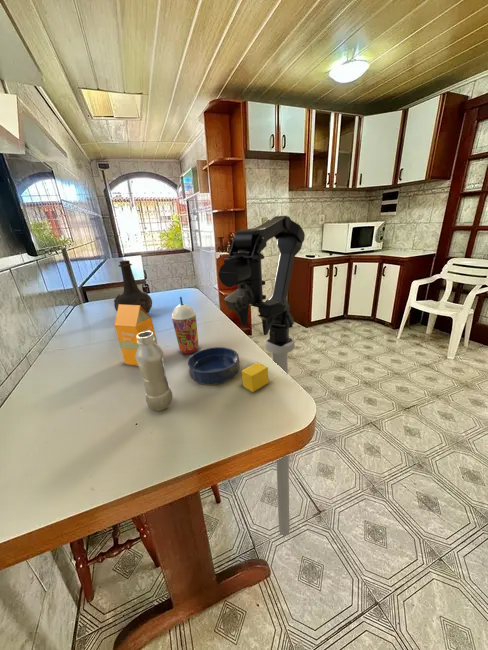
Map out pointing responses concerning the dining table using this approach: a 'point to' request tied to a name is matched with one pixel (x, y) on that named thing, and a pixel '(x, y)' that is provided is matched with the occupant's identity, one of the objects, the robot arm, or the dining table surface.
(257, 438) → the dining table surface
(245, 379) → the sponge
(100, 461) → the dining table surface
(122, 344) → the orange juice
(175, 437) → the dining table surface
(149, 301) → the glass bottle
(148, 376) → the plastic bottle
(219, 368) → the bowl
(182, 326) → the smoothie
